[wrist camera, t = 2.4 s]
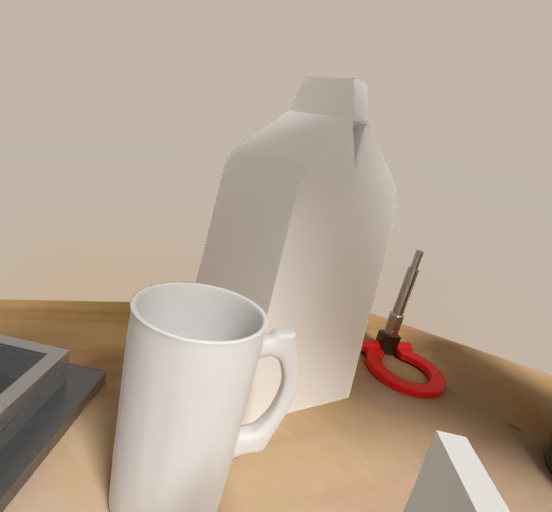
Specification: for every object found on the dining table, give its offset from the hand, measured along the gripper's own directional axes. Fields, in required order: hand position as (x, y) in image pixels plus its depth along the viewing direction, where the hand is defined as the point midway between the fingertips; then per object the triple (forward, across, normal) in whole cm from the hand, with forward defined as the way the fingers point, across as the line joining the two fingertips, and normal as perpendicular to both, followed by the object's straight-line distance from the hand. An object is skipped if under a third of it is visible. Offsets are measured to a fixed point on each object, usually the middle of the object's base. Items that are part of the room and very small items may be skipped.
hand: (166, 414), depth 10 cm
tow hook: (+32, +18, -14) cm, 40 cm away
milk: (+26, +4, -14) cm, 30 cm away
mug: (+11, 0, -14) cm, 18 cm away
